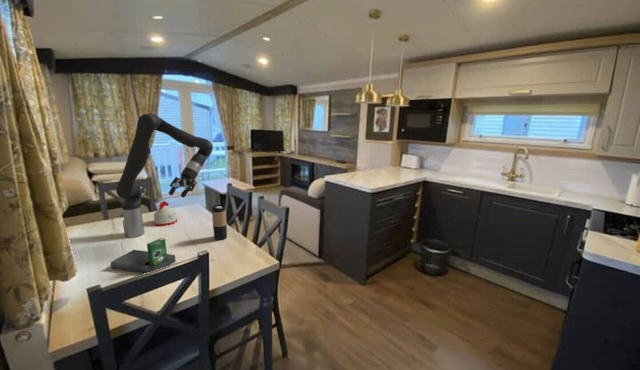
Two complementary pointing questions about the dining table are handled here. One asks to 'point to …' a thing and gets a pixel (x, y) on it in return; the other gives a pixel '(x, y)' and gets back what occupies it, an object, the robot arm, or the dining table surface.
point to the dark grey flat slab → (139, 262)
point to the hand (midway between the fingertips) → (176, 195)
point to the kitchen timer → (164, 215)
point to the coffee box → (156, 251)
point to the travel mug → (219, 222)
